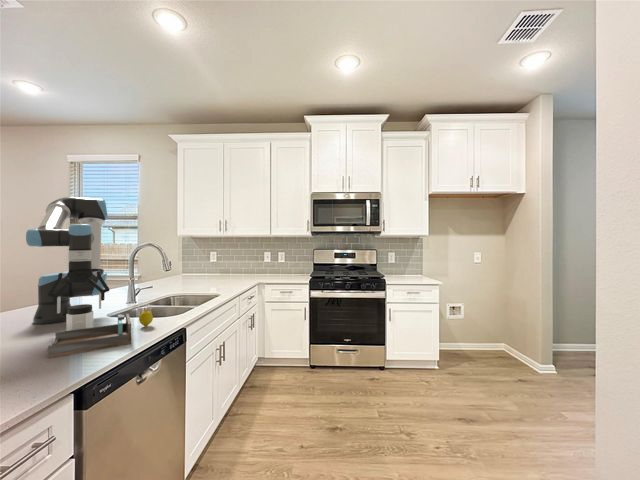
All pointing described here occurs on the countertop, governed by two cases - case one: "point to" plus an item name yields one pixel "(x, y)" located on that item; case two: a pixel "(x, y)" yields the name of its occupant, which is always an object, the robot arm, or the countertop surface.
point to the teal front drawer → (90, 339)
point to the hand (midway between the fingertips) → (80, 310)
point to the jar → (79, 317)
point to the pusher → (120, 323)
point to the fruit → (146, 318)
